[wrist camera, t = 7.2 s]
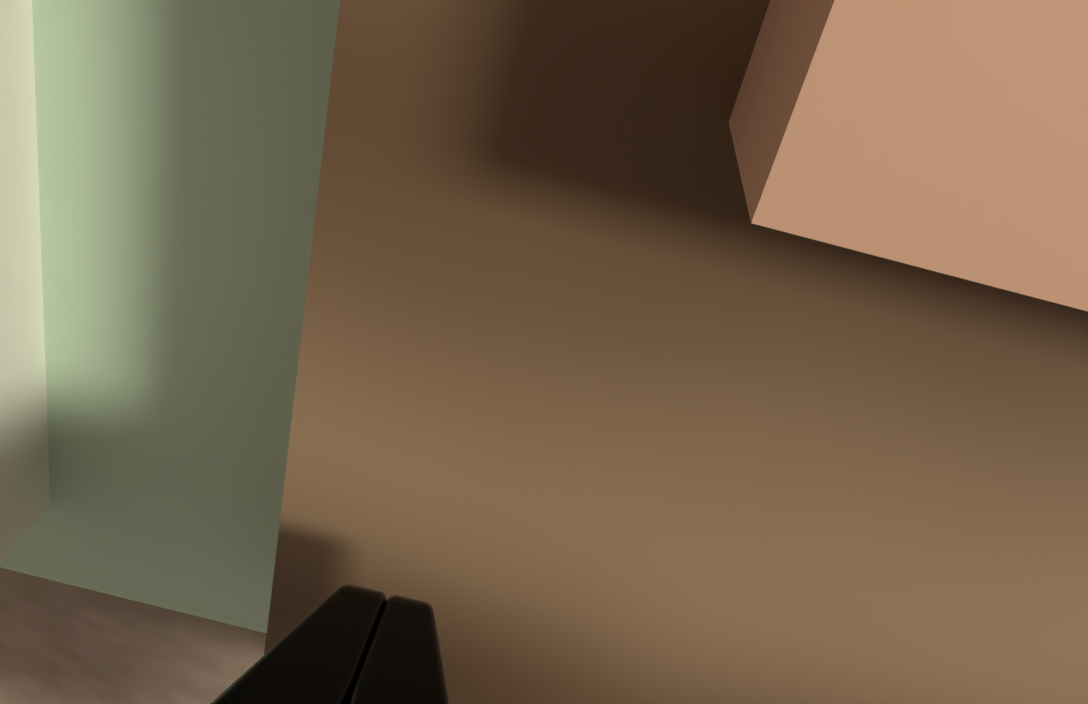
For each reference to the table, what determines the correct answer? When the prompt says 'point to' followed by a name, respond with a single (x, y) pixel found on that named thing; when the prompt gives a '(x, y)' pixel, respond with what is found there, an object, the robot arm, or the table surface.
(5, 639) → the table surface
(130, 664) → the table surface
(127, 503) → the mat
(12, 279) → the ivory block
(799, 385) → the deck
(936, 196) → the salmon pink brick
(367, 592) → the robot arm
